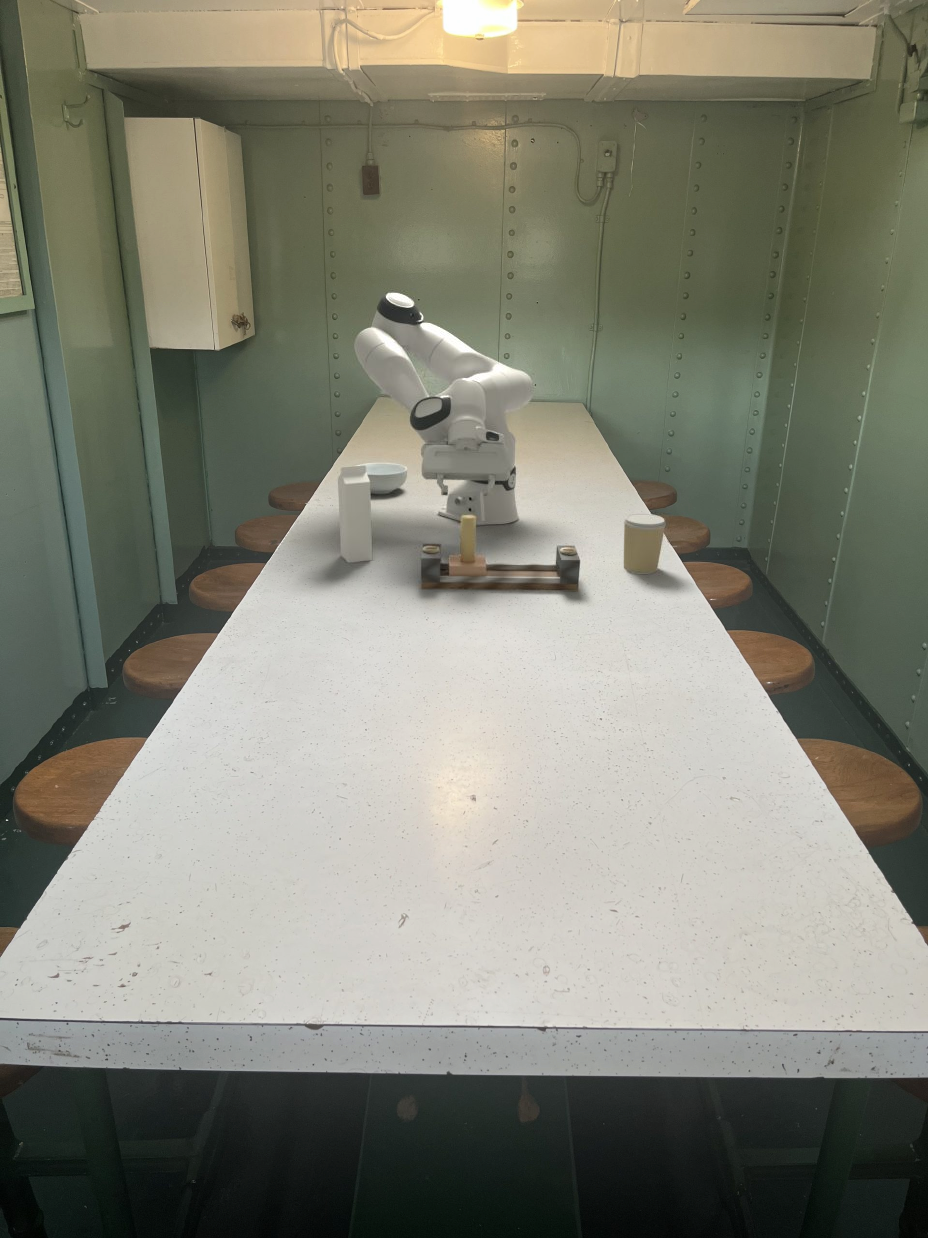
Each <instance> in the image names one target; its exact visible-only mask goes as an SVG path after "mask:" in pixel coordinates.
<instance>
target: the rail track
mask: <svg viewBox="0 0 928 1238" xmlns="http://www.w3.org/2000/svg"><path fill="white" fill-rule="evenodd" d="M441 546H442V544H441V543H422V549H421V554H420V555H421V556H420V586H421V588H420V589H422V590H470V591H475V590H477V591H478V590H481V591H482V590H484V591H486V590H487V591H555V592H556V591H561V592H563V591H564V592H565V591H566V592H567V591H568V592H569V591H571V592H573V591H575V592H577V591H578V592H579V583H580V582H579V581H580V567H581V559H580V556H579V554H578V550H577V548H576V545H561V544H560V545H559V544H558V545H557V544H556V551H555V553H556V555H555V563H515V562H514V563H508V562H507V563H501V562H499V563H497V562H491V563H490V562H486V576H449V562H442V559H441V558H442V547H441Z"/></svg>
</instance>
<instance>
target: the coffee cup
mask: <svg viewBox="0 0 928 1238" xmlns="http://www.w3.org/2000/svg"><path fill="white" fill-rule="evenodd" d="M623 524H624V527H623V528H624V529H623V530H624V531H623V532H624V533H623V569H624V570H625V571H627V572H629V573H633V574H638V575H649V574H653V573H656V572H657V571H658V567H659V561H660V555H661V550H662V545H663V540H664V539H663V538H664V533H665V527H666V524H667V523H666V521H665V518H663V517H662V516H660V515H656V514H652V513H631V514H629V515H627V516H625V518H624V519H623Z"/></svg>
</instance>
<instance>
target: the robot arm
mask: <svg viewBox="0 0 928 1238" xmlns="http://www.w3.org/2000/svg"><path fill="white" fill-rule="evenodd" d="M424 321H425V320H424V315H423V314H422V312H421V311H420V310H419V306H417V304H416V303H415V302H414V300H413V299H411V298H410V297H408V296H407V295H404V294H403V293H399V292H387V293H386V294H383V296H382V297H381V298H380V300H379V301H378V303H377V306H376V312H375V315H374V317H373V320H372V323H371V326H370V327H368V328H365V329H363V330H361V331H360V332H359V333H358V334H357V336H356V338H355V341H354V343H353V344H354V345H353V346H354V352H355V355H356V358H357V360H358V362H359V364H360V366H361V367H362V369H363V371H364V372H365V373H366V375H368V377H369V378H370V380H371V381H373V383H374V384H375V385H376V386H377V387H379V389H381V390H382V391H383V392H384V393H386V394H387V395H388V396H389V397H391V398H392V399H393V400H394V401H396V402H397V404H399V405H400V406H401V407H402V408H404V409H405V410H406V411H408V413H410V414H409V423H410V424H409V425H410V426H411V427H412V429H413V430H414V431H415V432H416V433H417V435H418V436H419V437H420V438H421V440H422V441H423V443H424V444H422V446H421V448H420V455H421V457H422V462H421V476H422V477H423V478H424V480H436V483H437V486H438V487H439V488H440V492H441V494H440V496H447V500H446V505H444V506H441V507H440V508H439V509H438V511H437V513H438V514H437V515H439V516H442V517H445V518H449V519H453V520H456V521H459V522H461V516H463V515H473V516H475V517H476V526H484V525H503V524H509V523H513V522H516V521H518V520H519V514H518V509H517V501H516V493H515V488H516V481H517V467H516V465H515V462H516V461H515V459H516V437H515V436H514V434H513V433H512V432H511V431H510V430H509V427H508V425H507V420H506V414H507V413H511V412H515V411H518V410H519V409H521V408H523V407H525V406H526V405H527V404H529V402H531V400H532V398H533V397H534V383H533V380H532V377H530V375H528V373H527V372H525V371H522V370H519V369H517V368H513V367H510V366H507V365H505V364H504V363H501V362H499V361H497V360H495V359H493V358H491V357H488V356H486V355H484V354H482V353H480V352H478V351H476V350H475V349H473V348H472V347H470V346H469V345H467V344H466V343H465V342H464V341H461V340H460V339H459V338H458V337H456V336H455V335H453V334H452V333H450V332H449V331H447V330H445V329H444V328H441V327H439V326H438V325H435V324H433V323H430V322H424ZM408 353H411V354H413V356H414V357H415V358H416V359H417V361H419V362H420V363H421V364H422V365H423V366H424V367H425V368H426V369H427V370H429V371H430V372H431V373H433V375H435V376H437V377H438V378H440V379H441V381H443V382H445V383H446V384H447V385H448V387H447V388H446V389H444V391H442V392H440V393H438V394H436V395H432V396H430V395H429V393H428V391H427V390H426V388H425V386H424V384H423V382H422V380H421V378H420V376H419V375H418V373H417V371H416V368H415V366H414V364H413V363H412V361H411V359H410V357H409V355H408ZM444 480H445V481H446V480H447V481H450V480H451V481H453V480H454V481H462V482H460V483H459V484H458V485H456V486H455V487H454V488H452V489H451V490H450V491H449V485H446V484H444Z"/></svg>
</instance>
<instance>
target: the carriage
mask: <svg viewBox="0 0 928 1238" xmlns="http://www.w3.org/2000/svg"><path fill="white" fill-rule="evenodd" d="M476 526H477V525H476V517H475V516H473V515H463V516H461V521H460V549H459V550H460V555H449V559H448V560H449V562H448V563H449V576H486V563H487V559H486V555H476V530H477V529H476Z"/></svg>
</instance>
